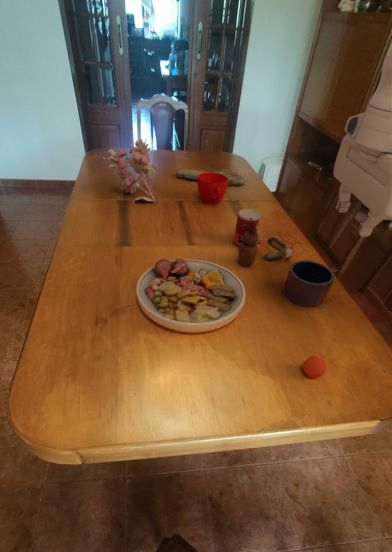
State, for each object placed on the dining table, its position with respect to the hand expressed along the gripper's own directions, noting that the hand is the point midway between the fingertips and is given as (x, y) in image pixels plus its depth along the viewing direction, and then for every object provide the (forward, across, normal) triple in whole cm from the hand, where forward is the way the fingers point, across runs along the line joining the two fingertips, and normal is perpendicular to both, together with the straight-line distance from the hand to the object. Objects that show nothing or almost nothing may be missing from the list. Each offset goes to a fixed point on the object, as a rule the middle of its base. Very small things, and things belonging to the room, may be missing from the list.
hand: (351, 222), depth 58 cm
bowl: (+33, +18, +26) cm, 46 cm away
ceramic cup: (+33, +88, +12) cm, 95 cm away
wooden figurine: (+33, +39, +6) cm, 51 cm away
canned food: (+33, +53, +4) cm, 62 cm away
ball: (+30, -9, 0) cm, 31 cm away
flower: (+33, +92, +46) cm, 108 cm away
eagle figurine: (+33, +43, -6) cm, 54 cm away
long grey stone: (+33, +116, +10) cm, 121 cm away
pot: (+32, +22, -8) cm, 40 cm away
